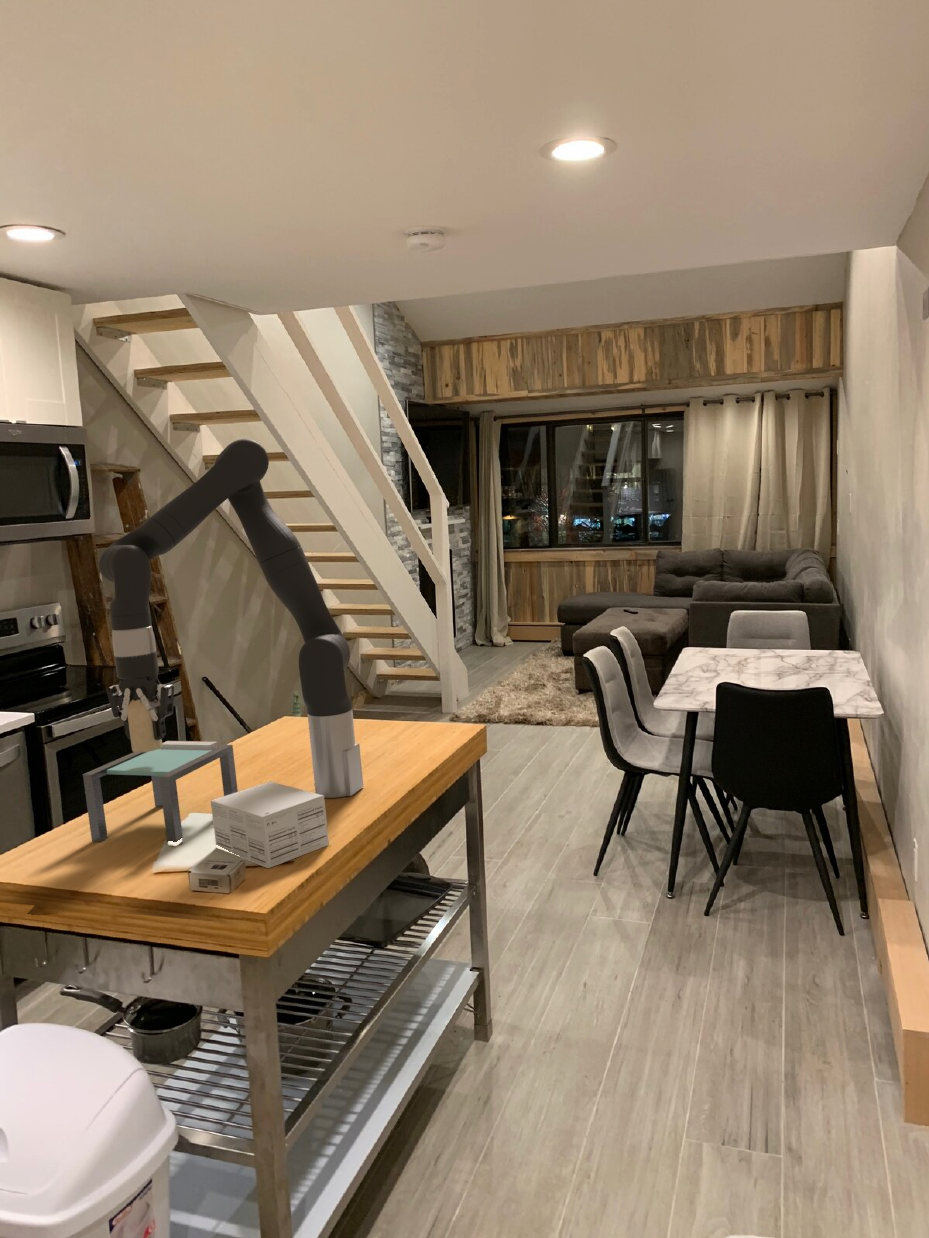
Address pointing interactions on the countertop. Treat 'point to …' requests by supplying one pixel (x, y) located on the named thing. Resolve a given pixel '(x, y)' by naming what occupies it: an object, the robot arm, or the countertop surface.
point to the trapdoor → (164, 758)
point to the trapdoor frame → (157, 790)
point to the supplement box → (270, 823)
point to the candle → (141, 728)
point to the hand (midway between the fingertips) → (146, 738)
